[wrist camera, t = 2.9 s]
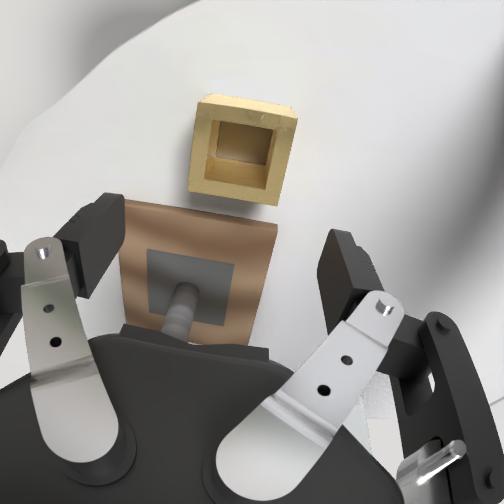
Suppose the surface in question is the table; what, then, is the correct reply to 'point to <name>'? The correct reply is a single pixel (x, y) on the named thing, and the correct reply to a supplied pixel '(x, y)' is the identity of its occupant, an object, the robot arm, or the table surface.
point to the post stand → (193, 272)
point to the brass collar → (233, 171)
